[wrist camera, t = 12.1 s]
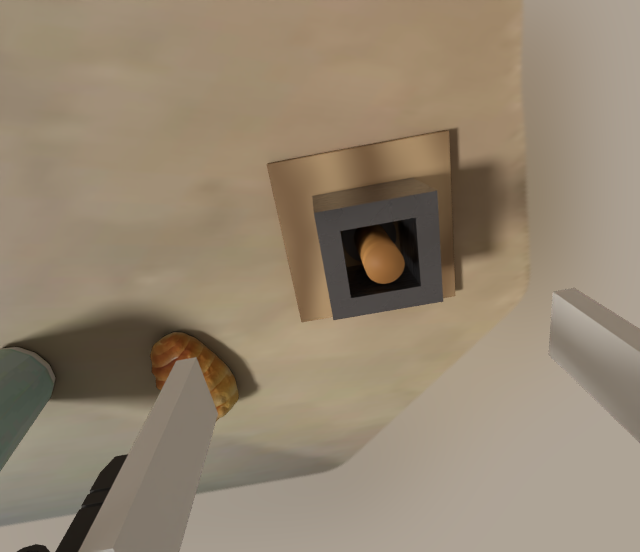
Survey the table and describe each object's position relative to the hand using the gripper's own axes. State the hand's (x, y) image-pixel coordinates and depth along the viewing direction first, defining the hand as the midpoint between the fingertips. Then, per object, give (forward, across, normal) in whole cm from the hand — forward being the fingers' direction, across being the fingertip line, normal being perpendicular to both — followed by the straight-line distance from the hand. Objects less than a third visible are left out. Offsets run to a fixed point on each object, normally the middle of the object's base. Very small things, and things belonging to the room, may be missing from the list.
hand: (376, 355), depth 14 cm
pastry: (+20, -16, -13) cm, 28 cm away
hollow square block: (+18, +2, -1) cm, 18 cm away
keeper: (+19, +2, -1) cm, 19 cm away
